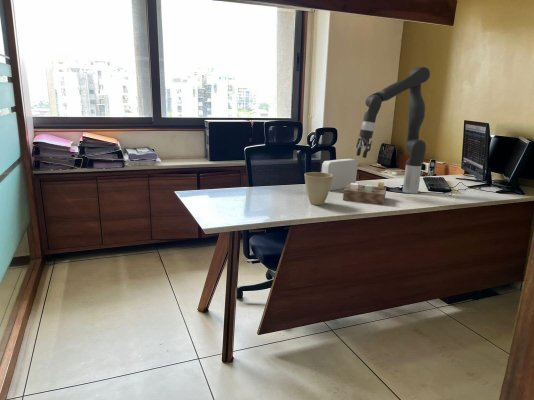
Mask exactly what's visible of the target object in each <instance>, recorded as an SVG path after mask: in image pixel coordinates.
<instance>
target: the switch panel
mask: <svg viewBox="0 0 534 400" xmlns="http://www.w3.org/2000/svg"><path fill="white" fill-rule="evenodd" d="M364 190H365V185H364V184H363V185H362V184H361V185H360V184H358V190H350V184H348V185H347V186H346V188H343V195H342V196H343V197H342V201H345V202H355V203H364V204H370V205H371V204H372V205H382V206H384V204H385V201H386V194H387V193H386V192H387V187H383V189H378V186H373V189H372V192H367V191H364Z"/></svg>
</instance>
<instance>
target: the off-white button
mask: <svg viewBox="0 0 534 400" xmlns="http://www.w3.org/2000/svg"><path fill="white" fill-rule="evenodd" d="M358 185H359V183H357V182H356V183H351V184H350V190H358Z"/></svg>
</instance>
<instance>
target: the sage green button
mask: <svg viewBox="0 0 534 400" xmlns="http://www.w3.org/2000/svg"><path fill="white" fill-rule="evenodd" d="M364 186H365V190H364V191H367V192H372V189H373V187H374V185H373V184H368V183H367V184H365V185H364Z"/></svg>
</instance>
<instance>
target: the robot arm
mask: <svg viewBox="0 0 534 400" xmlns="http://www.w3.org/2000/svg"><path fill="white" fill-rule="evenodd" d="M430 77H431V72H430V69H429V68H428V67H426V66H418V67H414V68H412V69H411V70H409V73H408V76H407V77H406V78H404V79H401V80H399V81H396V82H393V83H391V84H390V85H388V86H386V87H384V88H383V89H381V90H379V91H377V92H374V93H373V94H370V95H368V96H367V97H366V98H365V106H366V107H368V109H367V111H365V113H364V115H363V119H362V123H361V126H360V131H359V135H358V137H359V138H357V141H356V142H357V143H356V146H355V148H356V149H357V150H356V156H358V157H360V156H361V154H362V158H367V156H368V152H370V151H371V146H372V143H373V140H370V139H373V134H374V130H375V124H376V120H377V115H378V114H379V112H380V110H381V106H382V104H383V102H386V101H389V100H391V99H393V98H394V97H396V96H397V95H400V94H401V93H403V92H405V91H407V90H408V91H409V92H408V93H409V94H408V95H409V96H408V115H407V116H408V117H407V118H408V121H407V122H408V123H407V136H406V143H405V149H406V151H407V153H409V154H410V155H409V158H408V159H407V160H406V161H405V169H404V170H405V171H404V177H403V185H402V192H403V193H406V194H415V195H416V194H417V195H418V194H419V188H420V181H421V173H422V172H421V171H422V167H423V166H422V165H423V163H424V160H425V157H426V156H425V155H426V151H427V145H426V142H425V141H424V140H422V139H420V129H421V127H422V124H423V122H424V119H425V116H426V114H425V113H426V104H425V100H424V98H423V95H422V84H423V83H425V82H427V81H428V80H429V79H430ZM362 149H363V152H362Z"/></svg>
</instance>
